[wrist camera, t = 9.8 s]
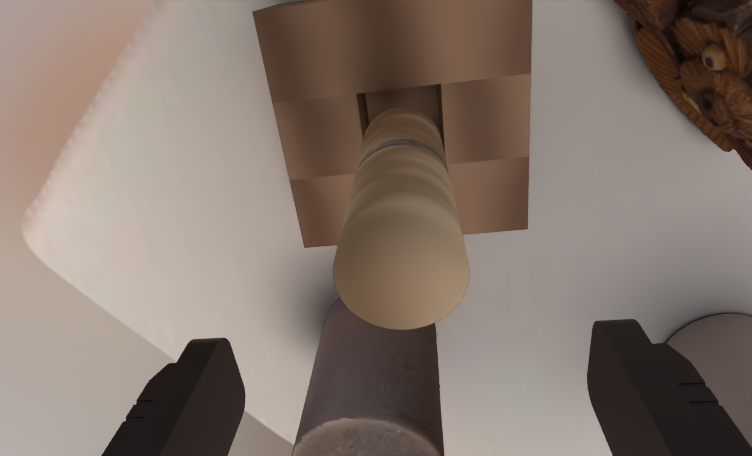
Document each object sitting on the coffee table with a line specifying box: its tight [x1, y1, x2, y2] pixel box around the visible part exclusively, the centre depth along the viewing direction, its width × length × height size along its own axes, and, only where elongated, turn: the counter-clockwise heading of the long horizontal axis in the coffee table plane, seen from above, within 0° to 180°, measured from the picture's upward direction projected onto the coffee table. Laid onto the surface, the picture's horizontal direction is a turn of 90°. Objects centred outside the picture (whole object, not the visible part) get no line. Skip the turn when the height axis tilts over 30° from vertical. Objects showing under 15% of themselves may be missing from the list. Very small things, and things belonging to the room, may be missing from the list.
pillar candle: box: [291, 298, 444, 456], centre depth 35 cm, size 10×10×15 cm
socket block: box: [253, 0, 532, 248], centre depth 30 cm, size 14×14×6 cm
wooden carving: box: [615, 0, 752, 170], centre depth 26 cm, size 16×5×10 cm, turn 49°
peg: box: [333, 107, 469, 330], centre depth 20 cm, size 4×4×12 cm
